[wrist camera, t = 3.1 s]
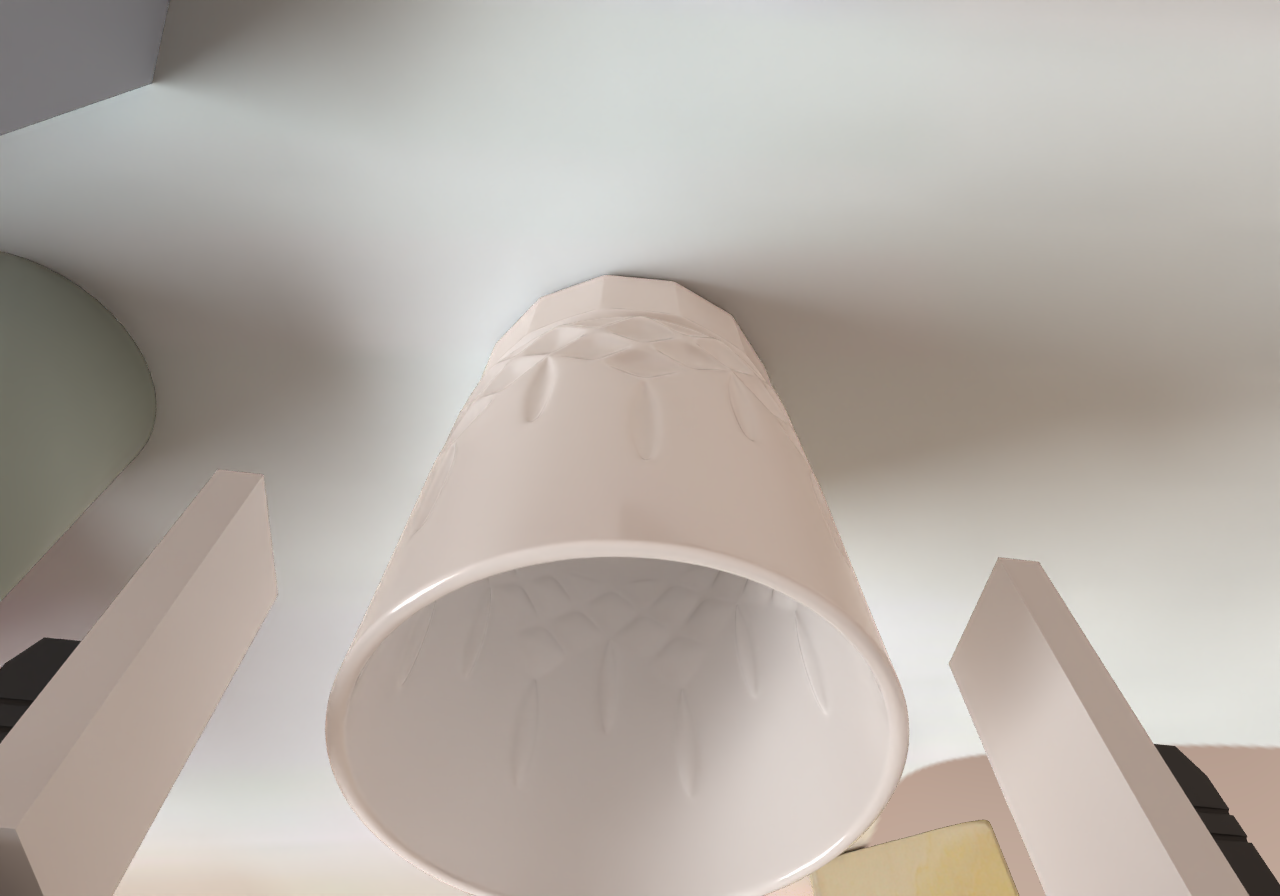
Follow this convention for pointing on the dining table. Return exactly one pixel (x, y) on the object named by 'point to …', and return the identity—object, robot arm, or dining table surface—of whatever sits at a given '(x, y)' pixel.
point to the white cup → (619, 627)
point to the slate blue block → (73, 54)
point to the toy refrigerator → (922, 866)
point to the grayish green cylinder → (60, 409)
